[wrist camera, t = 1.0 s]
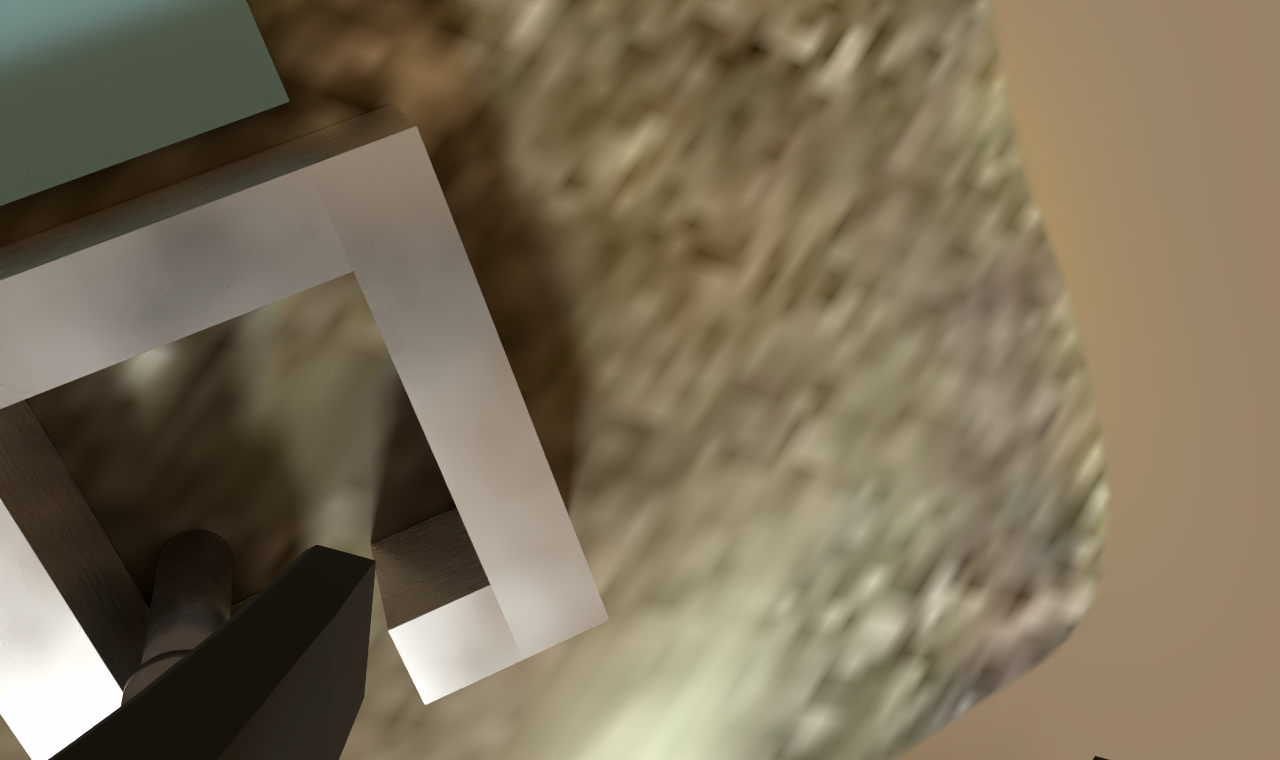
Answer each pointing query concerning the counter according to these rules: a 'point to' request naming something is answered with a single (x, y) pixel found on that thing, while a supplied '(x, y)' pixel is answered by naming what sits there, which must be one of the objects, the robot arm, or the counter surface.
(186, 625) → the pin
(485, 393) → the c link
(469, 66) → the counter surface
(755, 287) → the counter surface
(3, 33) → the mat
